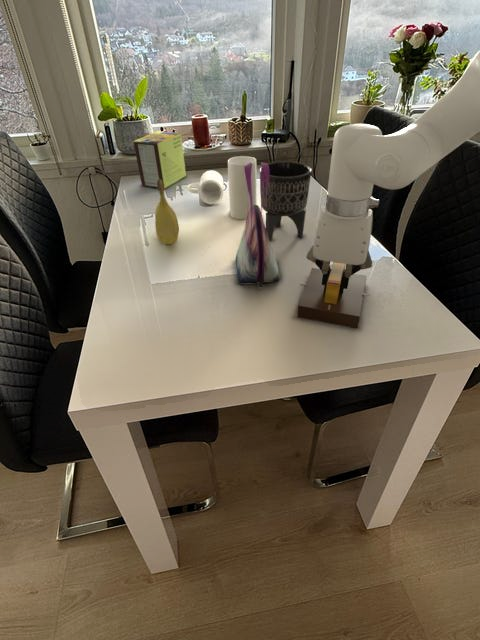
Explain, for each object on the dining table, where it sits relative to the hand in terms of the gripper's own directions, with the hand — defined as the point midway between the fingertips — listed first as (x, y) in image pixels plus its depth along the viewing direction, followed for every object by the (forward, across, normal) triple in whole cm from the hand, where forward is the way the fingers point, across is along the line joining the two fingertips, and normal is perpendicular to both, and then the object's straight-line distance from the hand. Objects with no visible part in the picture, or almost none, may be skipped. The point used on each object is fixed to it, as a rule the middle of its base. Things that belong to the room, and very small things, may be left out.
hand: (334, 288), depth 78 cm
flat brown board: (+3, 0, 0) cm, 3 cm away
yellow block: (0, 0, 0) cm, 0 cm away
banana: (+4, +47, -15) cm, 50 cm away
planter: (+4, +18, -28) cm, 33 cm away
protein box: (+4, +72, -59) cm, 93 cm away
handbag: (+4, +19, -7) cm, 21 cm away
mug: (+4, +49, -46) cm, 67 cm away
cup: (+4, +33, -38) cm, 50 cm away
